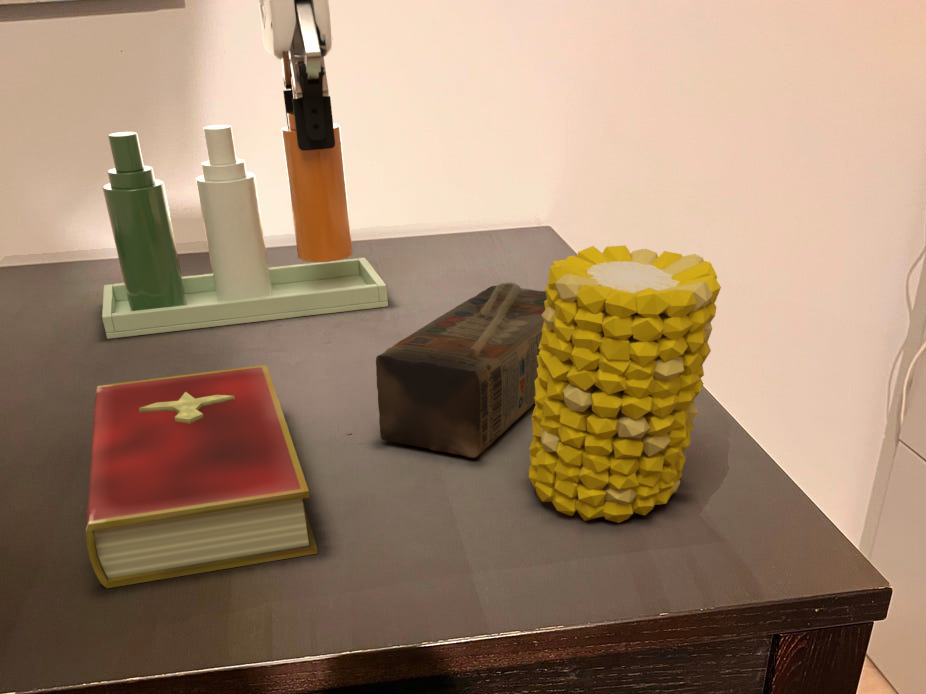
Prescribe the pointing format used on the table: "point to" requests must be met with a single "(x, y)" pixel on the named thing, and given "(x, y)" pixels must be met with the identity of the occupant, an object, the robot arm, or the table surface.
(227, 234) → the frosted bottle
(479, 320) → the beverage carton
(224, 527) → the hardcover book
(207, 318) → the tray
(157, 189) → the green bottle
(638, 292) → the food
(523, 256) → the table surface
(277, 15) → the robot arm
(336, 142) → the amber bottle
